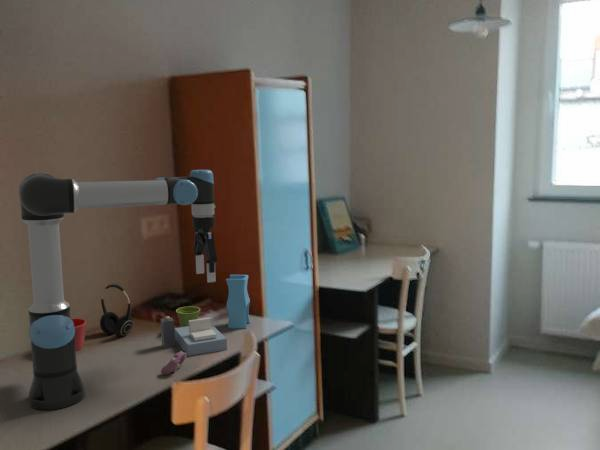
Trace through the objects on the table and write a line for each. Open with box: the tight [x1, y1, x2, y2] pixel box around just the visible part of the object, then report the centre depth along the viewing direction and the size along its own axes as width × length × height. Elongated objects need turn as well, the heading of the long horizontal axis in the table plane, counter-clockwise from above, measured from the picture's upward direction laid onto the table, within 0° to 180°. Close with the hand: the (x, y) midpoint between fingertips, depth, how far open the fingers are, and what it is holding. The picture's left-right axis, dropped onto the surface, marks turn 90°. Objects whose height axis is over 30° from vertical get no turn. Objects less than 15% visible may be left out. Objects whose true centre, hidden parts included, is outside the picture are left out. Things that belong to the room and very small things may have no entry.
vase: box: [225, 274, 251, 330], centre depth 233 cm, size 8×8×20 cm
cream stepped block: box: [189, 317, 217, 341], centre depth 209 cm, size 8×8×5 cm
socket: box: [174, 323, 228, 357], centre depth 213 cm, size 14×20×4 cm
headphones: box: [99, 283, 134, 338], centre depth 222 cm, size 9×15×20 cm, turn 62°
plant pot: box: [175, 305, 201, 328], centre depth 227 cm, size 9×9×9 cm
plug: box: [160, 315, 176, 349], centre depth 211 cm, size 4×4×11 cm
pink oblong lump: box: [160, 350, 188, 375], centre depth 189 cm, size 10×5×7 cm, turn 168°
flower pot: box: [71, 317, 87, 352], centre depth 209 cm, size 11×11×10 cm
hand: (205, 277), depth 198 cm, fingers open, 13 cm apart
